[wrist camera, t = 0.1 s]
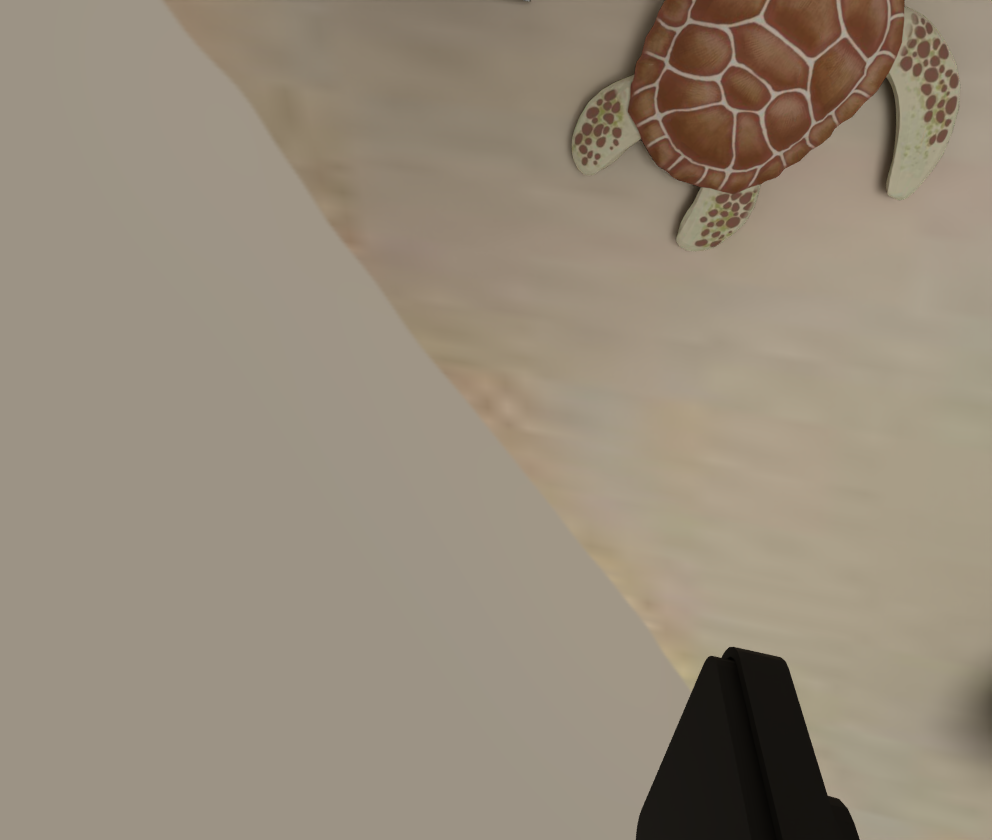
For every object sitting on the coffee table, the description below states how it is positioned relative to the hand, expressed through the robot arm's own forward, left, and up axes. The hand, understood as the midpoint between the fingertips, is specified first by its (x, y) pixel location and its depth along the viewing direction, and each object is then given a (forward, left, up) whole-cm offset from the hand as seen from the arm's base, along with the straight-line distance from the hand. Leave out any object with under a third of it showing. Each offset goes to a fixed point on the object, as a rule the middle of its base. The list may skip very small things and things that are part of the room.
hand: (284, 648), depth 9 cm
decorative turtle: (-7, +9, -32) cm, 34 cm away
